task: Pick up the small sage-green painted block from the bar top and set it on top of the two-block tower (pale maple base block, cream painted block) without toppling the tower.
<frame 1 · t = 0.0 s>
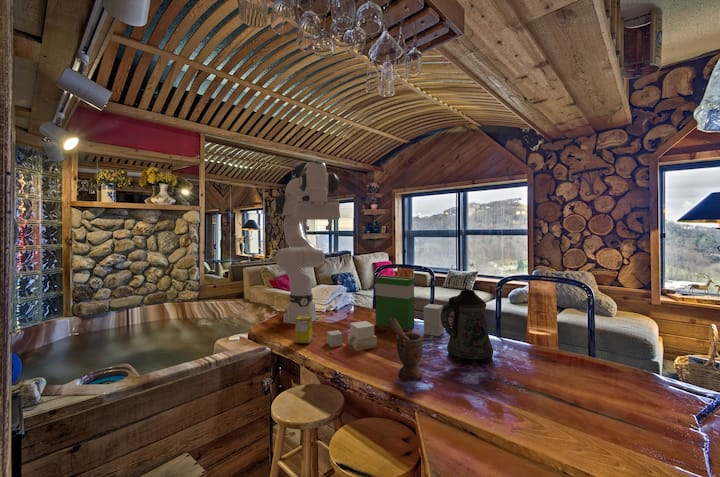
hand: (317, 230, 139), 48 cm above the bar counter, fingers open, 8 cm apart
beer stein: (467, 358, 119), on the bar counter
supplement box: (304, 342, 136), on the bar counter
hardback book: (394, 325, 159), on the bar counter
tower base: (362, 345, 132), on the bar counter, touching tower top
mortar and pestle: (406, 377, 104), on the bar counter
sage block: (334, 344, 134), on the bar counter
supplement box 2: (433, 333, 147), on the bar counter
tower top: (362, 335, 132), point 4 cm above the bar counter, touching tower base
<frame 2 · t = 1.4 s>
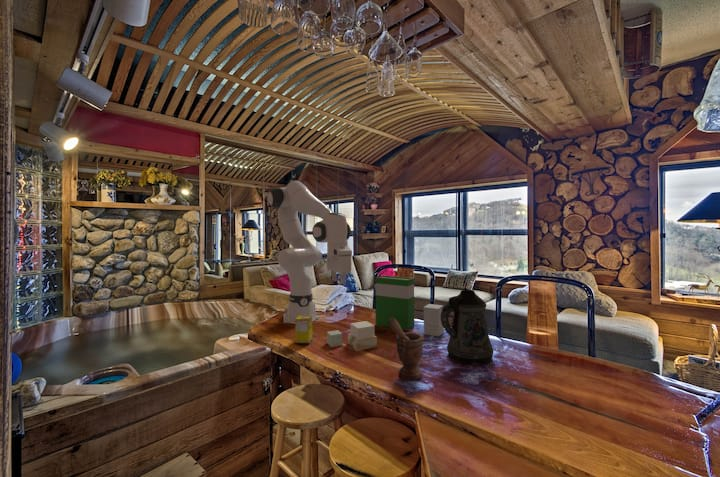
hand: (338, 282, 136), 25 cm above the bar counter, fingers open, 8 cm apart
nothing on the bar counter moved.
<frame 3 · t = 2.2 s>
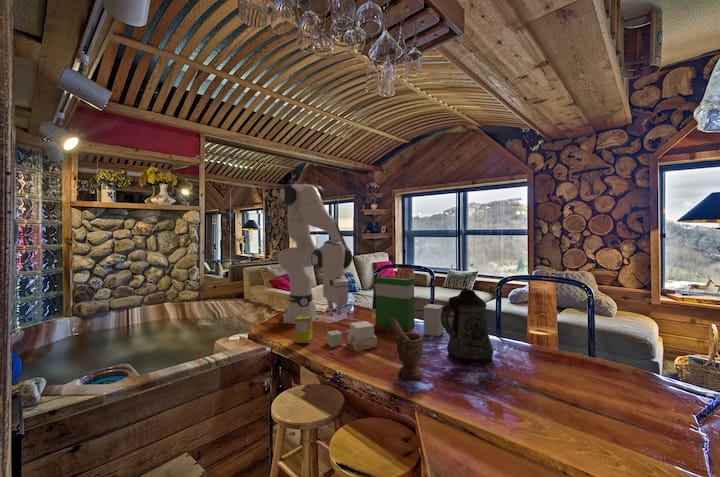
hand: (334, 312, 133), 14 cm above the bar counter, fingers open, 8 cm apart
tower base: (362, 345, 132), on the bar counter
tower top: (361, 335, 132), point 4 cm above the bar counter
everything else where it was.
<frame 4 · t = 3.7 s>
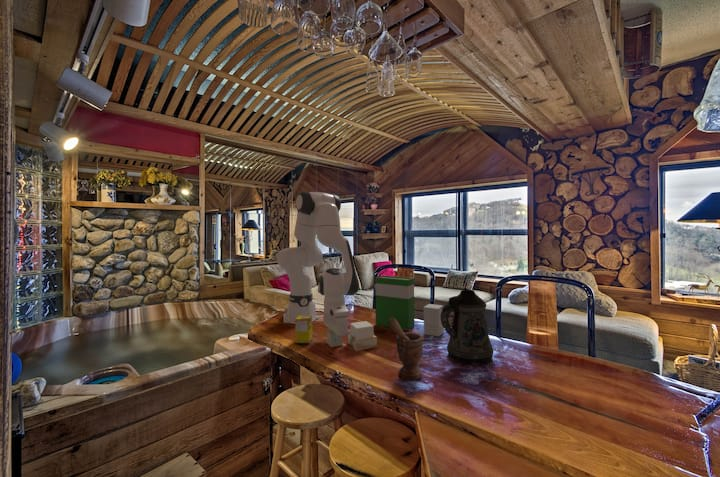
hand: (334, 340, 134), 2 cm above the bar counter, fingers closed on sage block, 5 cm apart
tower base: (362, 345, 132), on the bar counter, touching tower top
sage block: (334, 344, 134), on the bar counter, touching gripper
tower top: (361, 335, 132), point 4 cm above the bar counter, touching tower base
everything else where it was.
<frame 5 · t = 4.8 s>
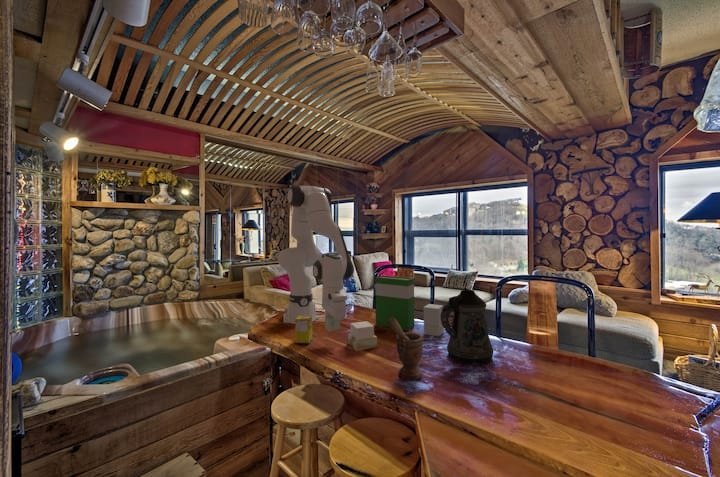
hand: (332, 324, 134), 8 cm above the bar counter, fingers closed on sage block, 5 cm apart
sage block: (332, 328, 134), point 7 cm above the bar counter, touching gripper
everything else where it was.
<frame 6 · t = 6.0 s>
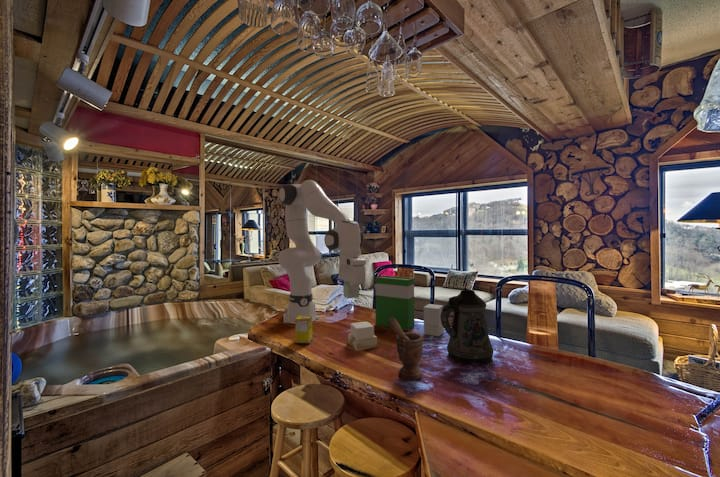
hand: (351, 292, 132), 22 cm above the bar counter, fingers closed on sage block, 5 cm apart
sage block: (351, 296, 132), point 20 cm above the bar counter, touching gripper
everything else where it was.
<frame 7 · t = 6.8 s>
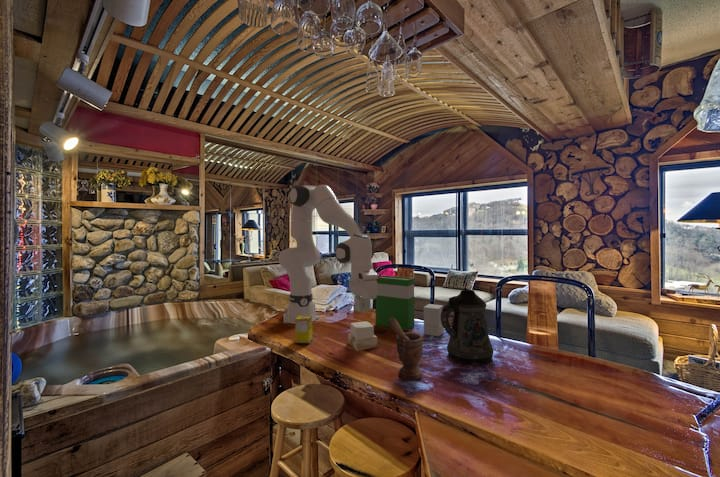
hand: (362, 306, 132), 16 cm above the bar counter, fingers closed on sage block, 5 cm apart
sage block: (362, 310, 132), point 15 cm above the bar counter, touching gripper
everything else where it was.
when the fingers open (12 cm above the bar counter, at t = 8.0 s): sage block drops 1 cm, point 9 cm above the bar counter.
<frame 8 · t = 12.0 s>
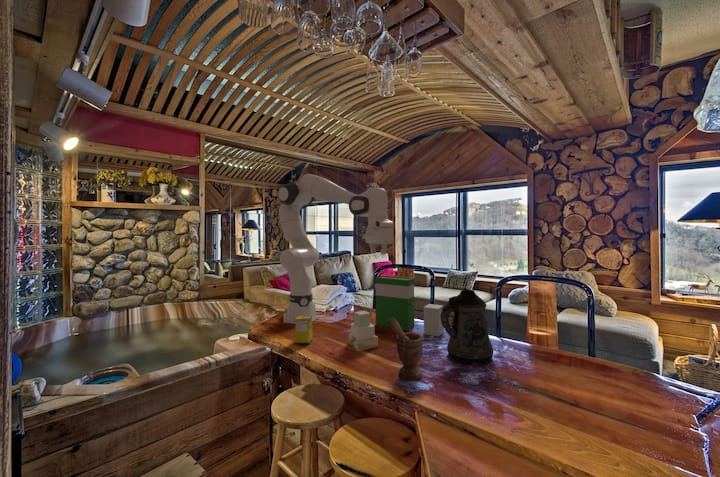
hand: (378, 253, 143), 37 cm above the bar counter, fingers open, 8 cm apart
sage block: (362, 324, 132), point 9 cm above the bar counter
everything else where it was.
at the end: sage block 0.5 cm from the tower top (horizontally); sage block point 8.7 cm above the bar counter; tower top tilted 0° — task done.
